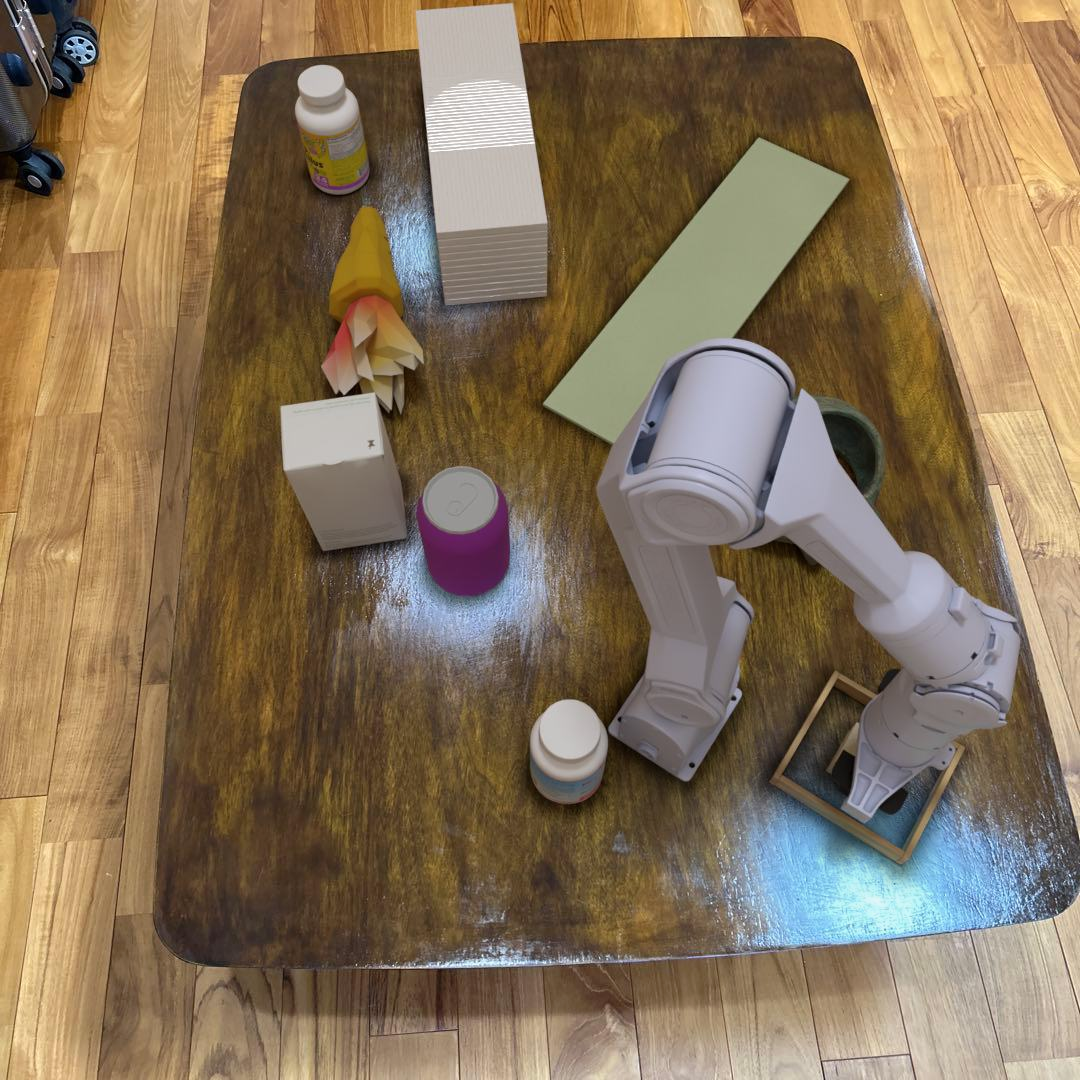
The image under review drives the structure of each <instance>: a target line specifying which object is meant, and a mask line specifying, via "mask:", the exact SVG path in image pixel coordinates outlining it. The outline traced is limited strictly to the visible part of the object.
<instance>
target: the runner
mask: <svg viewBox="0 0 1080 1080" xmlns="http://www.w3.org/2000/svg"><path fill="white" fill-rule="evenodd" d="M849 181H850V178H848V177H846V176H844V175H843V174H840V173H837V172H835V171H833V170H831V169H829V168H827V167H824V166H822V165H820V164H818V163H815V162H813V161H811V160H809V159H807V158H805V157H803V156H801V155H799V154H796V153H794V152H791V151H789V150H787V149H785V148H783V147H781V146H778V145H776V144H774V143H772V142H770V141H768V140H766V139H763V138H761V137H758V138H757V139H756V140H755V141H754V143H753V144H752V145H751V146H750V147H749V149H748V150H747V151H746V152H745V153H744V155H743V156H742V157H741V158H740V160H739V161H738V162H737V163H736V165H734V167H733V168H732V170H731V171H730V172H729V173H728V174H727V176H726V177H725V178H724V179H723V180H722V182H721V183H720V184H719V185H718V187H717V188H716V189H715V191H714V192H713V193H712V194H711V195H710V196H709V198H708V199H707V201H706V202H705V203H704V204H703V205H702V206H701V208H700V209H699V210H698V211H697V213H696V214H695V215H694V216H693V217H692V219H691V220H690V221H689V223H688V224H687V225H686V226H685V227H684V229H682V231H681V232H680V234H679V235H678V236H677V237H676V239H675V240H674V241H673V242H672V244H671V245H670V246H669V247H668V249H666V251H665V252H664V253H663V255H661V257H660V258H659V259H658V260H657V262H656V263H655V264H654V265H653V267H652V268H651V269H650V270H649V272H648V273H647V274H646V276H645V277H644V278H643V279H642V281H641V282H640V283H639V284H638V286H637V287H636V288H635V289H634V290H633V292H632V293H630V296H629V297H628V298H627V299H626V300H625V302H624V303H623V304H622V305H621V307H620V308H619V309H618V310H617V311H616V312H615V314H614V315H613V316H612V318H611V319H610V320H609V321H608V322H607V324H605V326H604V327H603V329H602V330H601V331H600V332H599V334H598V335H597V336H596V337H595V339H594V340H593V341H592V342H591V343H590V345H589V346H588V347H587V348H586V349H585V351H584V352H583V353H582V355H580V357H579V358H578V359H577V361H576V362H575V363H574V364H573V366H572V367H571V368H570V370H569V371H568V372H567V373H566V374H565V375H564V377H563V378H562V379H561V381H559V383H558V384H557V386H556V387H555V388H554V389H553V390H552V391H551V393H550V394H549V395H548V397H546V399H545V400H544V402H542V407H543V408H545V409H547V410H549V411H551V412H552V413H554V414H556V415H558V417H561V418H562V419H565V420H566V421H569V422H570V423H572V424H574V425H575V426H577V427H578V428H580V429H583V430H584V431H586V432H587V433H590V434H592V435H593V436H595V437H597V438H598V439H599V440H602V441H604V442H606V444H609V445H611V446H613V444H614V442H615V441H616V440H617V438H618V437H619V435H620V434H621V432H622V431H623V430H624V428H625V427H626V425H627V424H628V422H629V421H630V420H631V418H632V417H633V415H634V414H635V412H636V411H637V410H638V408H639V407H640V405H641V404H642V402H643V401H644V400H645V398H646V397H647V395H648V393H649V392H650V390H651V388H652V386H653V384H654V382H655V380H656V378H657V377H658V375H659V373H660V371H661V369H662V367H663V365H664V363H665V362H666V360H667V359H668V358H669V357H671V356H673V355H675V354H677V353H679V352H681V351H683V350H685V349H687V348H689V347H691V346H693V345H695V344H697V343H700V342H702V341H705V340H710V339H716V338H733V339H735V337H736V335H737V334H738V332H739V331H740V330H741V328H742V327H743V326H744V324H745V323H746V322H747V320H748V319H749V318H750V316H751V315H752V313H754V311H755V310H756V308H757V306H758V305H759V304H760V303H761V302H762V300H763V299H764V297H765V296H766V294H767V293H768V292H769V290H770V289H771V288H772V287H773V285H774V284H775V282H776V281H777V280H778V278H779V277H780V276H781V274H782V273H783V272H784V270H785V269H786V268H787V266H788V265H789V263H790V262H791V261H792V259H793V258H794V257H795V255H796V254H797V253H798V251H799V250H800V249H801V247H802V246H803V244H804V243H805V242H806V240H807V239H808V238H809V236H810V235H811V234H812V233H813V231H814V229H815V228H816V227H817V226H818V224H819V223H820V221H821V220H822V219H823V218H824V216H825V215H826V214H827V212H828V211H829V209H830V208H831V207H832V205H833V204H834V202H835V201H836V199H838V197H839V196H840V195H841V193H842V192H843V190H844V189H845V187H846V186H847V185H848V184H849Z"/></svg>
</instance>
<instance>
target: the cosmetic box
mask: <svg viewBox="0 0 1080 1080" xmlns="http://www.w3.org/2000/svg"><path fill="white" fill-rule="evenodd" d="M379 405H380V403H379V401H378V400H377V397H376V394H375V392H373V393H367V394H363V393H361V394H354V395H348V396H342V397H341V396H340V397H334V398H328V399H320V400H313V401H306V402H300V403H294V404H285V405H281V406H280V434H281V435H280V436H281V450H282V451H281V453H282V454H281V455H282V468H283V471H284V474H285V476H286V478H287V480H288V482H289V484H290V486H291V488H292V490H293V492H294V494H295V497H296V498H297V500H298V503H299V505H300V507H301V509H302V511H303V513H304V515H305V517H306V520H307V521H308V523H309V525H310V529H312V532H313V534H314V536H315V538H316V540H317V542H318V544H319V546H320V548H321V551H323V552H326V551H333V550H340V549H346V548H347V549H348V548H354V547H359V546H367V545H375V544H379V543H387V542H392V541H400V540H405V539H407V538H408V529H407V528H408V527H407V517H406V511H405V510H406V509H405V502H404V494H403V486H402V485H403V484H402V480H401V477H400V474H399V470H398V467H397V464H396V459H395V456H394V453H393V449H392V445H391V442H390V438H389V436H388V432H387V429H386V426H385V422H384V418H383V415H382V411H381V408H380V406H379Z"/></svg>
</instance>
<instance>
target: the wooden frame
mask: <svg viewBox="0 0 1080 1080" xmlns="http://www.w3.org/2000/svg"><path fill="white" fill-rule="evenodd" d="M833 688H836V689H837V690H839V691H841V692H842V693H844V694H846V695H847V696H849V697H850V698H852V699H854V700H856V701H858V702H859V703H861V704H862V705H864V706H865V707H866V706H867V704H868V703H869V702H870V701H871V700H872V699H873V698H875V697H876V696H877V695H878V694H877V693H874V692H873V691H871V690H869V689H868V688H866V687H864V686H862V685H861V684H859V683H857V682H856V681H854V680H852V679H851V678H849V677H847V676H845V675H844V674H842V673H840V672H839V671H837V670H834V671H833V673H832V674H831V676H830V677H829V678H828V680H827V682H826V683H825V685H824V687H823V688H822V691H821V692H820V694H819V696H818V697H817V699H816V701H815V702H814V704H813V706H812V707H811V709H810V711H809V713H808V714H807V716H806V718H805V719H804V721H803V723H802V724H801V726H800V728H799V730H798V731H797V733H796V735H795V736H794V738H793V740H792V742H791V743H790V745H789V747H788V748H787V750H786V752H785V754H784V755H783V757H782V759H781V760H780V762H779V764H778V765H777V767H776V769H775V770H774V773H773V774H772V776H771V777H770V779H769V781H768V782H769V783H770V784H771V785H773V786H775V787H776V788H778V789H779V790H781V791H782V792H784V793H786V794H787V795H789V796H790V797H792V798H794V799H795V800H797V801H798V802H800V803H801V804H803V805H804V806H806V807H807V808H809V809H811V810H813V811H814V812H816V813H817V814H818V815H821V816H822V817H823V818H825V819H826V820H828V821H830V822H832V823H833V824H834V825H836V826H838V827H840V828H841V829H842V830H844V831H846V832H848V833H849V834H850V835H852V836H854V837H855V838H857V839H859V840H860V841H862V842H863V843H865V844H866V845H868V846H870V847H872V848H873V849H875V850H876V851H877V852H879V853H881V854H882V855H884V856H886V857H887V858H889V859H890V860H892V861H894V862H895V863H897V864H898V865H900V866H901V865H904V864H905V863H907V861H909V860H910V858H911V856H912V854H913V852H914V850H915V848H916V847H917V844H918V842H919V841H920V839H921V837H922V834H923V832H924V830H925V828H926V826H927V824H928V823H929V821H930V819H931V818H932V817H931V816H932V815H933V812H934V811H935V808H936V807H937V805H938V803H939V801H940V800H941V797H942V795H943V793H944V791H945V789H946V787H947V786H948V783H949V781H950V779H951V777H952V775H953V773H954V771H955V770H956V767H957V766H958V763H959V762H960V759H961V758H962V756H963V754H964V752H965V749H966V746H964V745H962V744H960V743H959V742H957V741H956V740H953V741H952V742H951V744H952V745H953V746H954V747H955V750H956V751H955V754H954V756H953V758H952V760H951V762H950V764H949V766H948V767H947V768H945V769H944V770H941V771H940V773H939V776H938V778H937V780H936V781H935V783H934V785H933V787H932V789H931V791H930V793H929V795H928V797H927V799H926V801H925V802H924V805H923V807H922V808H921V810H920V812H919V814H918V817H917V819H916V821H915V822H914V825H913V826H912V828H911V830H910V832H909V834H908V836H907V838H906V840H905V842H904V844H903V846H902V847H901V848H900V847H898V845H897V846H896V845H895V844H894V843H892V842H890V841H889V840H887V839H886V838H884V837H883V836H881V835H880V834H877V833H876V832H875V831H873V830H871V829H870V828H867V827H866V826H865V825H863V823H860V822H859V821H858V820H855V818H852V817H851V816H850V815H849V816H848V814H847V813H844V812H843V811H841V810H839V809H838V808H836V807H834V806H833V805H831V804H829V803H828V802H826V801H825V800H823V799H822V798H820V797H819V796H817V795H815V794H814V793H812V792H811V791H809V790H807V789H806V788H804V787H803V786H801V785H799V784H797V783H796V782H795V781H793V780H792V779H790V778H788V777H786V776H785V775H783V773H784V771H785V770H786V768H787V766H788V765H789V762H790V761H791V759H792V758H793V756H794V754H795V753H796V751H797V749H798V747H799V746H800V744H801V742H802V741H803V739H804V737H805V736H806V734H807V732H808V730H809V728H810V726H811V725H812V723H813V721H814V720H815V718H816V716H817V714H818V713H819V711H820V710H821V707H822V706H823V705H824V703H825V701H826V699H827V697H828V696H829V694H830V692H831V690H832V689H833Z"/></svg>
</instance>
